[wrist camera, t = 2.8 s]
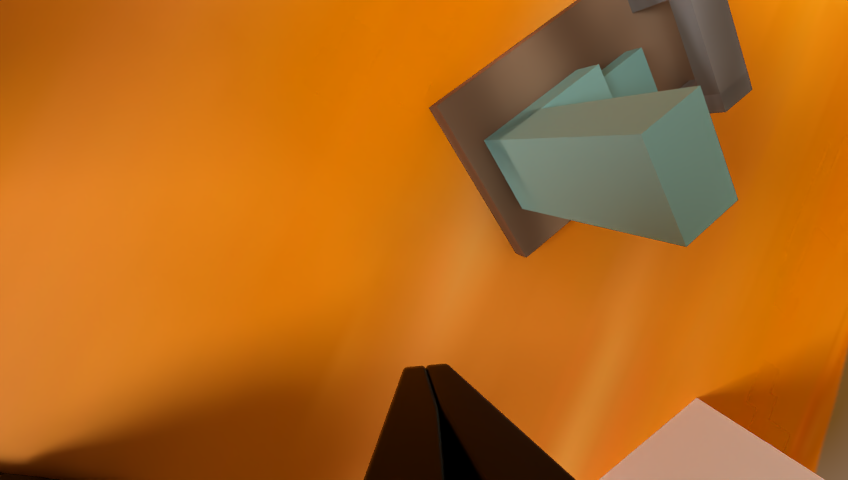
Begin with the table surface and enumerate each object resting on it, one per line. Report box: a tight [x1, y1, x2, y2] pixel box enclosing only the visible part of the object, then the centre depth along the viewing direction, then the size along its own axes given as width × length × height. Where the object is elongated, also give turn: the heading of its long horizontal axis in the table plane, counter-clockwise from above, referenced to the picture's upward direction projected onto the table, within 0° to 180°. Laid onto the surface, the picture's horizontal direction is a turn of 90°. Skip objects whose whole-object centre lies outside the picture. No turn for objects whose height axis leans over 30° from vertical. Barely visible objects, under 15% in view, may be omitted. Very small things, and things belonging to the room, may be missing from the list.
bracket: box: [429, 0, 752, 257], centre depth 21 cm, size 14×9×4 cm, turn 124°
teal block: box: [484, 47, 738, 247], centre depth 17 cm, size 9×4×9 cm, turn 124°
